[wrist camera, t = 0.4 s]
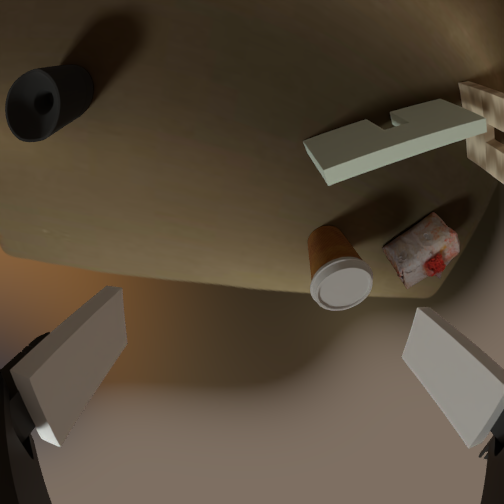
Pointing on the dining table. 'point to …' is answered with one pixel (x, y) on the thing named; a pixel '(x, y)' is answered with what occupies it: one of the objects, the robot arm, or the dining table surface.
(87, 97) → the pen holder
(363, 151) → the sage slotted plate
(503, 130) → the birch slotted plate
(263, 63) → the dining table surface
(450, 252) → the food item
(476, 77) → the dining table surface
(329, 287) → the disposable coffee cup
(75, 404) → the robot arm
